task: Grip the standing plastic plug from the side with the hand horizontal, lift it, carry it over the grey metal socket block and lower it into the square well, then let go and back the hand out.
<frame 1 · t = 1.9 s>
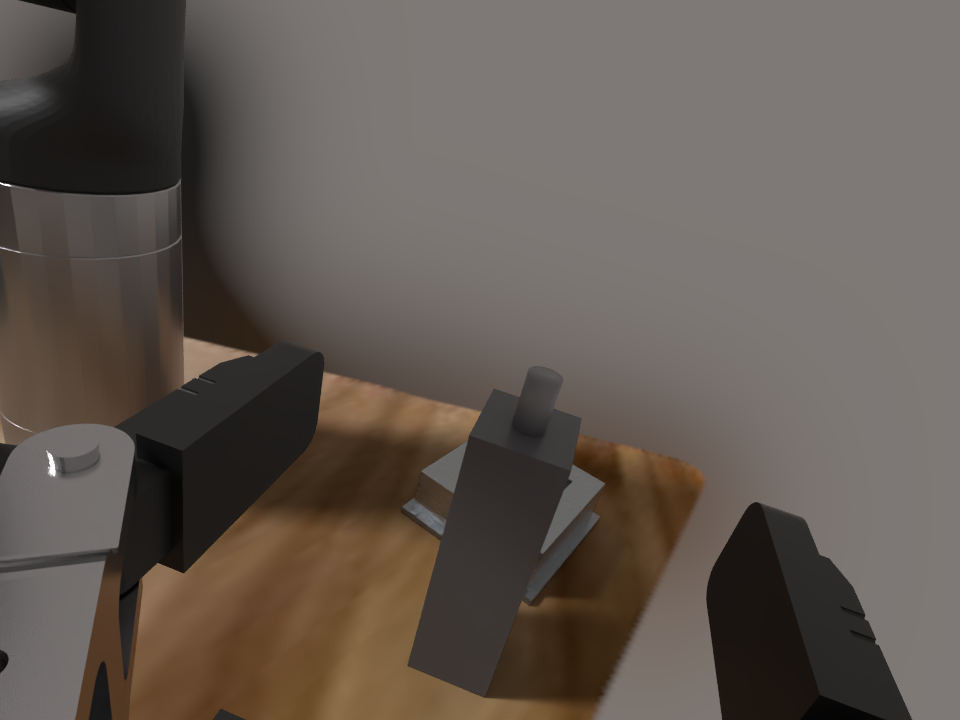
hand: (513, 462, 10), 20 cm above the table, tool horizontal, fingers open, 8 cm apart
socket: (504, 516, 39), on the table
plug: (457, 646, 29), on the table
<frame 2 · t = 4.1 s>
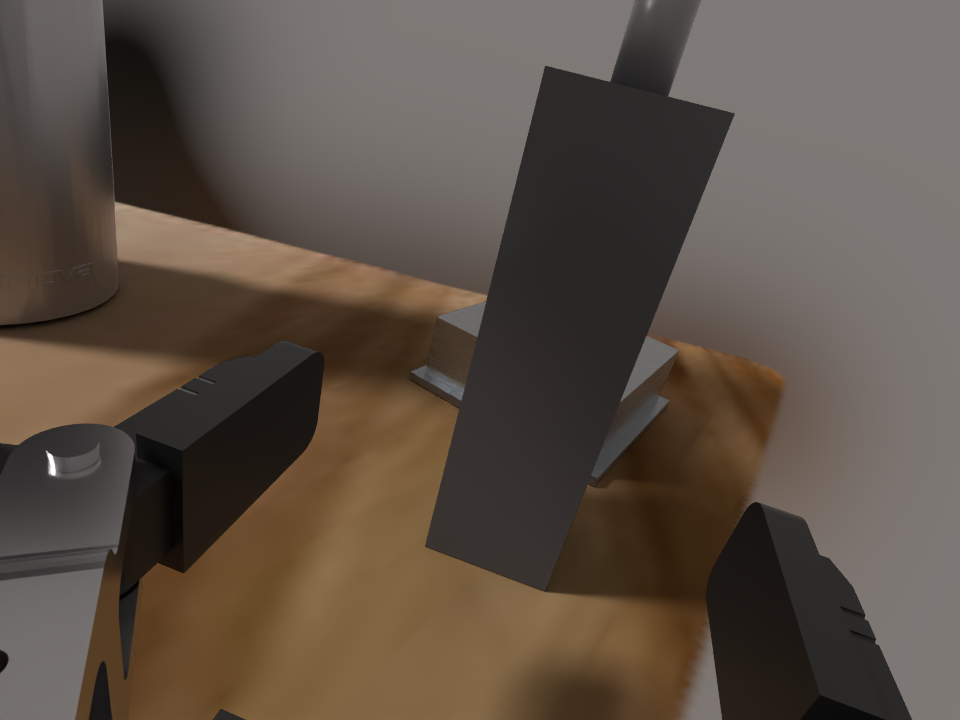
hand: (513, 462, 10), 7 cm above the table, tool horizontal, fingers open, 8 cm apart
socket: (546, 393, 29), on the table
plug: (498, 527, 20), on the table
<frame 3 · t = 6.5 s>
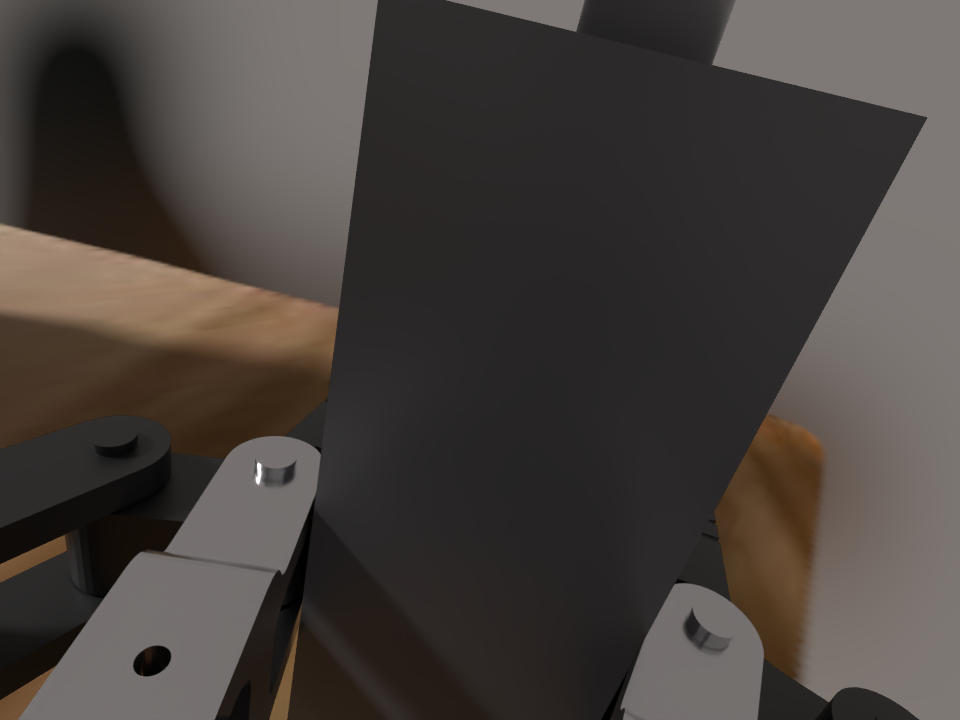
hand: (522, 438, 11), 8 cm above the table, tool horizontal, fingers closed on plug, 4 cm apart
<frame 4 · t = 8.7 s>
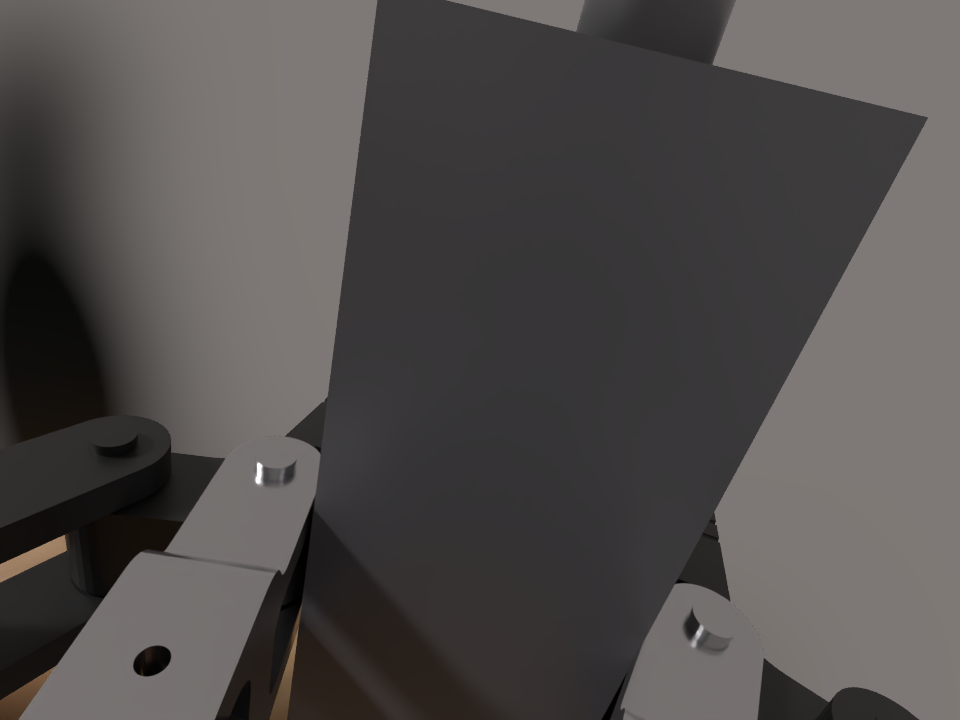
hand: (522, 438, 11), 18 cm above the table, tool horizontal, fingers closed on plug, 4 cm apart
when the fingers open (9 cm above the table, at t = 11.0 s): plug drops 1 cm, resting on socket.
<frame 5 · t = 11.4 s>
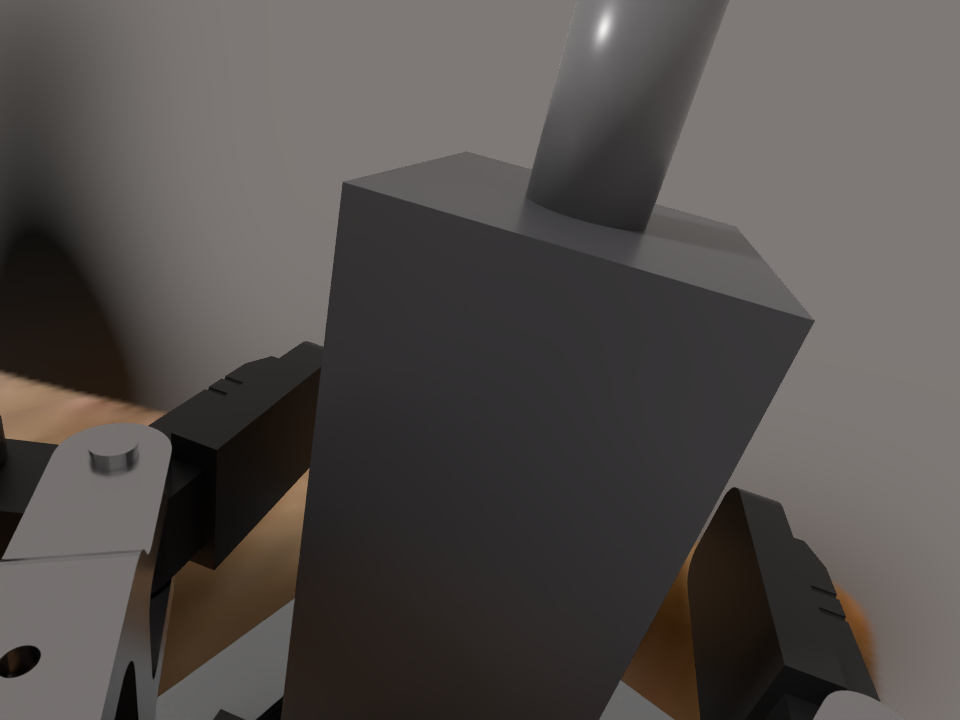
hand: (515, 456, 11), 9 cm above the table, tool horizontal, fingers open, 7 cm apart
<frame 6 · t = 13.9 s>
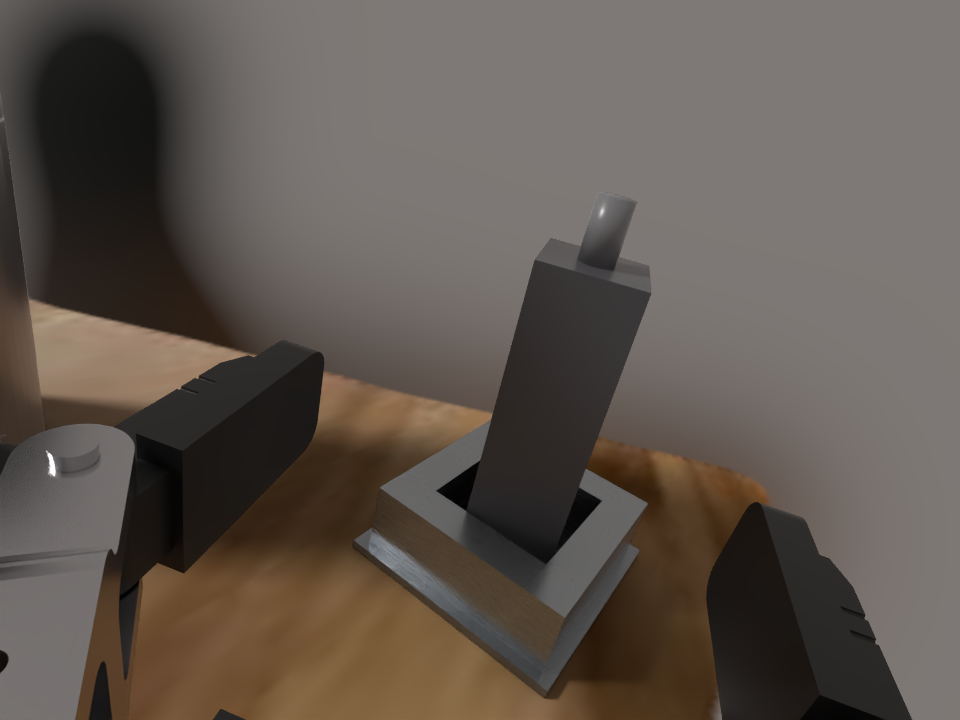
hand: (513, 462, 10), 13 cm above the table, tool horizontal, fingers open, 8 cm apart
socket: (504, 551, 27), on the table
plug: (505, 546, 27), resting on socket
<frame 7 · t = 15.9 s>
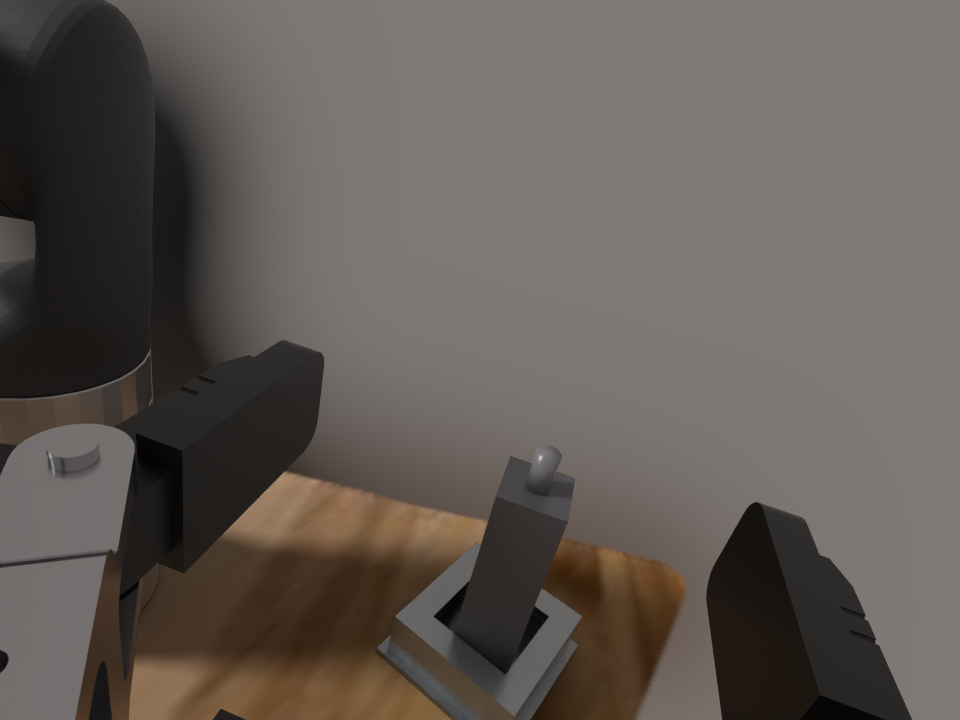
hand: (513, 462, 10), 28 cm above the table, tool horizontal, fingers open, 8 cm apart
socket: (481, 649, 38), on the table
plug: (481, 646, 38), resting on socket
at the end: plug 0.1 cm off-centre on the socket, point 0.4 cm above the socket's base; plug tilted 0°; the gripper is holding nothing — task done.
